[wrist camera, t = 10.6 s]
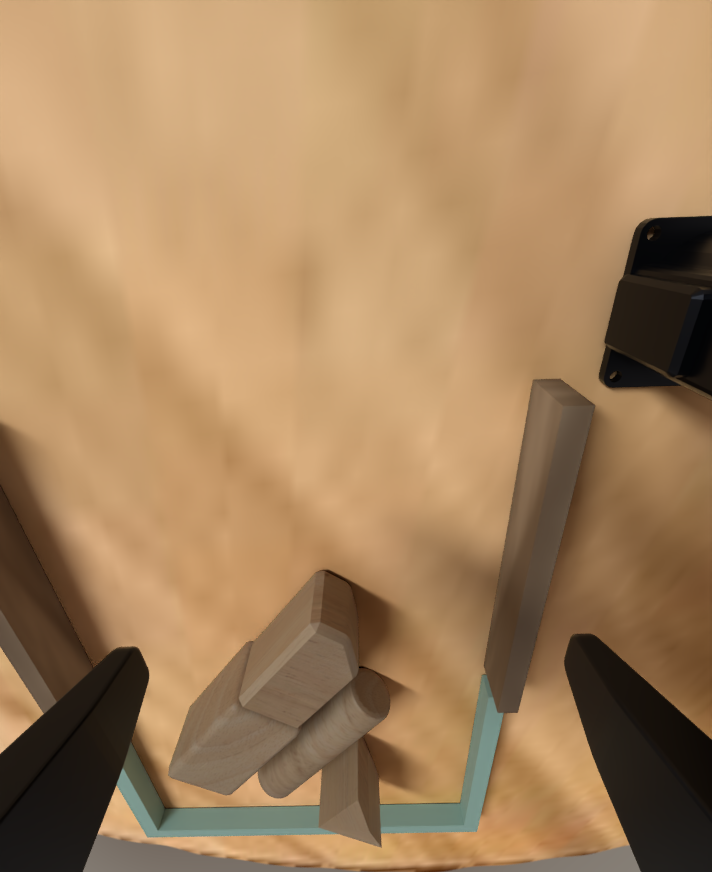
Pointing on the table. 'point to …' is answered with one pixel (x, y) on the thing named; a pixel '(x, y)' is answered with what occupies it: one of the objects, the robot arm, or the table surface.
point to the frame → (306, 818)
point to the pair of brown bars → (516, 592)
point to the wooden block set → (294, 713)
